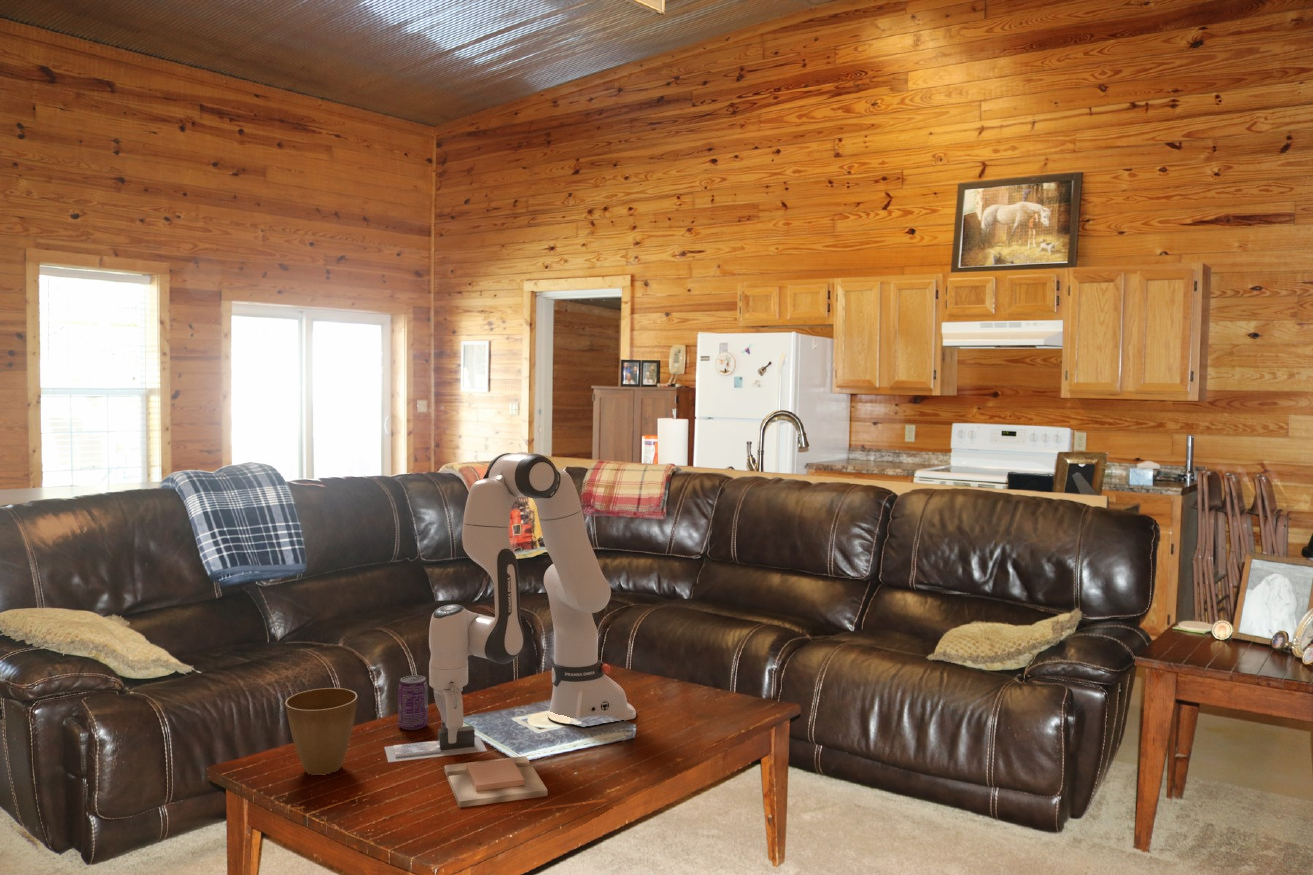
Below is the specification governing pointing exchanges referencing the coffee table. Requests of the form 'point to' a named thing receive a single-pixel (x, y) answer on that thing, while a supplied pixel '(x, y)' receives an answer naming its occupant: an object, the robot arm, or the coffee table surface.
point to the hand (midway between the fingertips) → (448, 735)
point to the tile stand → (471, 797)
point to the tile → (494, 774)
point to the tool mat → (478, 748)
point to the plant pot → (321, 727)
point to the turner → (437, 743)
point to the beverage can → (412, 702)
